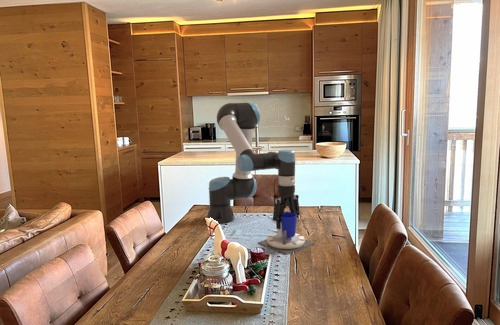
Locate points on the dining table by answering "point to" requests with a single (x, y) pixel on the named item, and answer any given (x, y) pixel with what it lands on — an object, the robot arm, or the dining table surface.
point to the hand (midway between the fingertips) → (286, 233)
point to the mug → (289, 224)
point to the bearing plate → (286, 251)
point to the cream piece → (285, 241)
